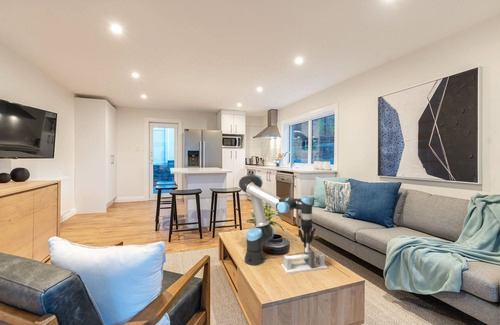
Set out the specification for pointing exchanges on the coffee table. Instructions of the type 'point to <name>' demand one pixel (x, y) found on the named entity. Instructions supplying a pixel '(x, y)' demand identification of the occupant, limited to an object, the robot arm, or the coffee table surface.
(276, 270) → the coffee table surface
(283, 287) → the coffee table surface
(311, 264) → the collar
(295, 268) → the pipe stand
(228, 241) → the coffee table surface
